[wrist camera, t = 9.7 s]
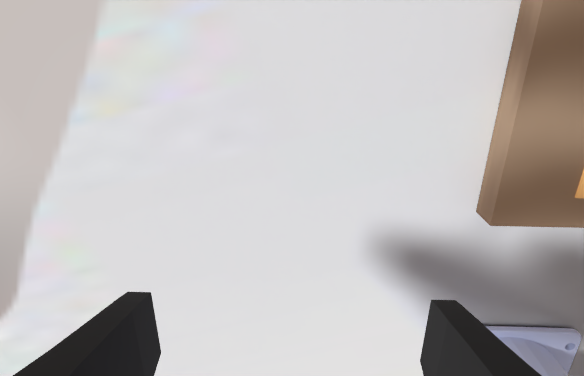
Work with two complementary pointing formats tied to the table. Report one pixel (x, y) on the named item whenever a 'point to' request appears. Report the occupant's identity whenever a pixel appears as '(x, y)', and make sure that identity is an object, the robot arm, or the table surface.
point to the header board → (539, 123)
